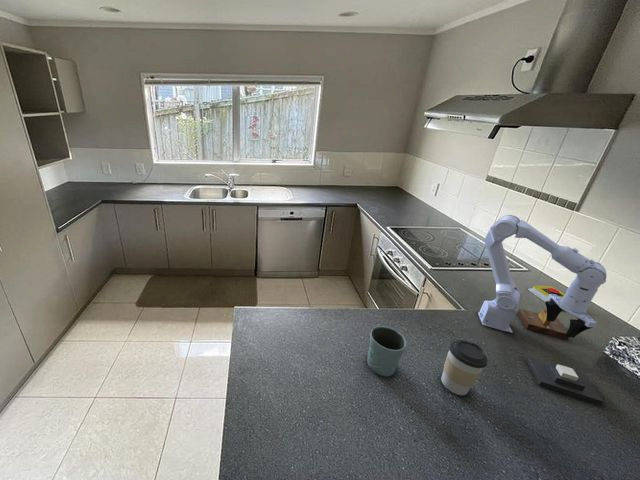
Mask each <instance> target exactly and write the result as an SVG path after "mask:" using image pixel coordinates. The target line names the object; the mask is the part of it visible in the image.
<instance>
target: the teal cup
mask: <svg viewBox="0 0 640 480" xmlns="http://www.w3.org/2000/svg"><path fill="white" fill-rule="evenodd" d="M406 348H407V340H406V338H405V337H404V335H403V334H402V333H401V332H399V331H398V330H396V329H395V328H393V327H390V326H385V325H378V326H374V327H373V328H372V329H371V331H370V335H369V346H368V350H367V351H368V352H367V358H366V361H367V365H368V368H369V369H370V370H372V372H374V373H375V374H377V375H379V376H381V377H391V376H393V375H394V374H395V372H396V370H397V368H398V365H399V363H400V360H401V358H402V355H403V354H404V351H405V350H406Z"/></svg>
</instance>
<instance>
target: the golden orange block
mask: <svg viewBox="0 0 640 480" xmlns="http://www.w3.org/2000/svg"><path fill="white" fill-rule="evenodd" d="M539 314H540V315H539V318H540V319H541V321H542V322H543V324H545V325H549V324H550V323H551V321H547V320H546V317H547V309H541V311H540V313H539Z"/></svg>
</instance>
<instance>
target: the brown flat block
mask: <svg viewBox="0 0 640 480" xmlns="http://www.w3.org/2000/svg"><path fill="white" fill-rule="evenodd" d="M517 315H518V317H519V318H520V320H521V322H522V325H523V326H524V327H525V329H526V330H530V331H532V332H537V333H540V334H544V335H548V336H551V337H555V338H559V339H563V340H568V339H569V337H567V336H566V333H567V331H568V329H567V328H566V327H565V326H564V325H563V323H562V322H561V321H560V319H559V318H558V317H557V318H556V320H555V321H554V322H552V321H551V323H550V324H549V325H545V324H543V322H542V321H541V319H540V318H539V315H540V313H539V312H534V311H530V310H527V309H523V308H518V310H517Z"/></svg>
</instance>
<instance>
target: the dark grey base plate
mask: <svg viewBox="0 0 640 480" xmlns="http://www.w3.org/2000/svg"><path fill="white" fill-rule="evenodd" d="M526 363H527V365H528V367H529V369H530V372H531V373H532V375H533V377H534V379H535V381H536V383H537V385H538V386H540V387H542V388H543V387H544V388H545V389H549V390H553V391H556V392H558V393H561V394H565V395H568V396H570V397H573V398H576V399H580V400H583V401H586V402H589V403H592V404H596V405H598V406H602V404H603V403H604V400H603V398H602V396H600V394H599V393H598V391H597V390H596V389H595V387H594V386H593V384H592V383H591V381H590V380H589V379H588V377H587V376H586V374H585V373H581V372H578V371H576V370H575V369H573V370H574V371H575V373H576V374H577V376H578V377H579V378H578V379H577V381H574V380H570V379H567V378H564V377H561V376H560V375H559V373H558V372H557V370H556V369H555V367H556V366H557V364H556V363H553V362H549V361H547V362H544V361H542V360H538V359H534V358H532V357H528V358H527V359H526Z"/></svg>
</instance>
